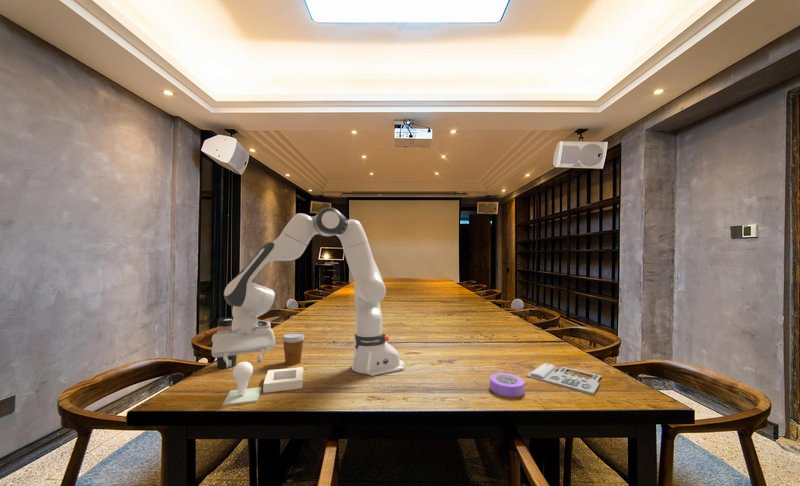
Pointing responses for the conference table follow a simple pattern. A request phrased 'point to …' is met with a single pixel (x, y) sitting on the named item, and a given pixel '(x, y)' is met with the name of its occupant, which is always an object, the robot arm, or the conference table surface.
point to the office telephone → (566, 378)
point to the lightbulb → (242, 376)
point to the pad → (242, 396)
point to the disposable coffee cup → (293, 347)
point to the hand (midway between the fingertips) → (244, 364)
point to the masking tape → (507, 384)
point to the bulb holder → (283, 379)
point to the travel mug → (225, 325)
